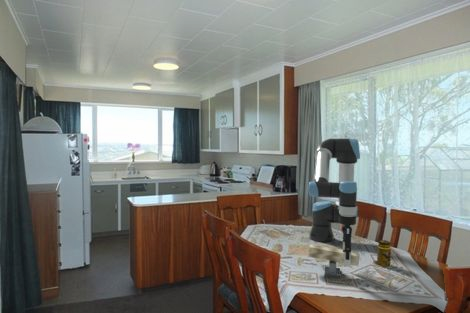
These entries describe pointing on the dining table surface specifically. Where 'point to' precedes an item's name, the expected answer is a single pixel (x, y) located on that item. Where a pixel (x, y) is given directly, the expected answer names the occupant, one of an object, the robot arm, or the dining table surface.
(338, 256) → the bar
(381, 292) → the dining table surface
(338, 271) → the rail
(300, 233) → the dining table surface
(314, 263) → the dining table surface
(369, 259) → the dining table surface
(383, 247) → the condiment
